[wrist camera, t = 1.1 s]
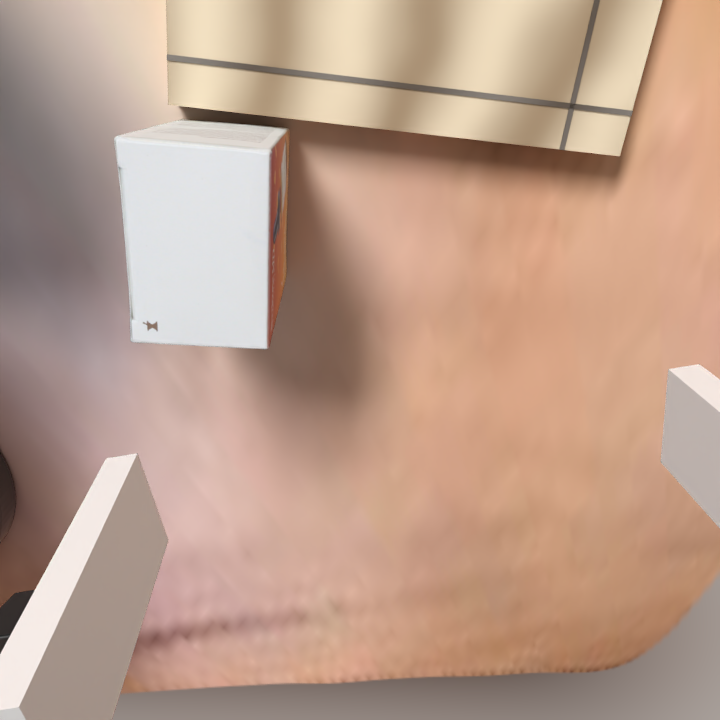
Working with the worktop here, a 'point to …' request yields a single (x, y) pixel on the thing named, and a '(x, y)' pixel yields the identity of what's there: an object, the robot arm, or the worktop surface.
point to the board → (420, 65)
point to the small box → (204, 231)
